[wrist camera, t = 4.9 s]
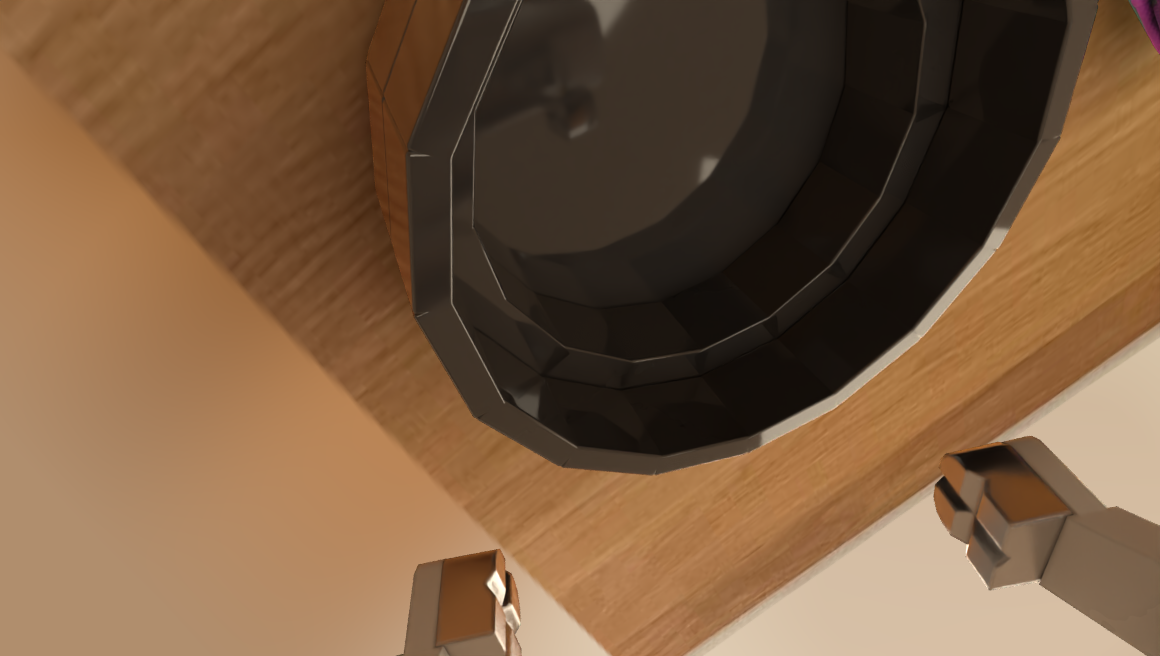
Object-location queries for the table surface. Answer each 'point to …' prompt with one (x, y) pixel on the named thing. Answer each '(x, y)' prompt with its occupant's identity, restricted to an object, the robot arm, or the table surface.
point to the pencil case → (1149, 18)
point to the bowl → (700, 200)
